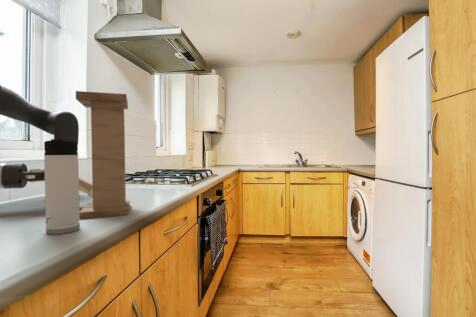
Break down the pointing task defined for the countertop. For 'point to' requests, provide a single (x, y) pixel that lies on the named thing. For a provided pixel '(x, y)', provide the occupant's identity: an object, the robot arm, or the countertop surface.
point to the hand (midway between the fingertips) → (71, 174)
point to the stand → (106, 154)
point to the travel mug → (61, 186)
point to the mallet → (86, 187)
